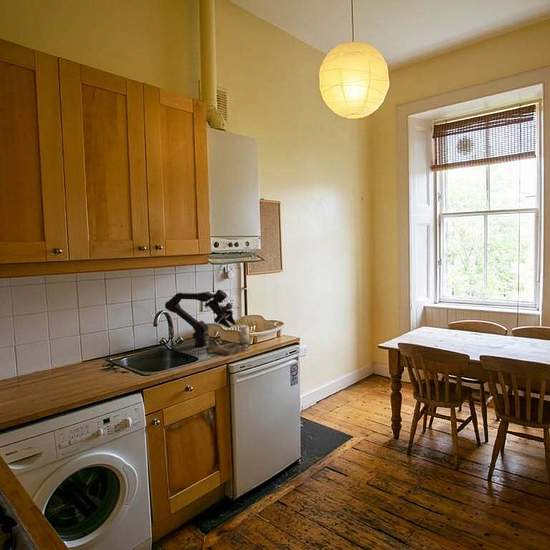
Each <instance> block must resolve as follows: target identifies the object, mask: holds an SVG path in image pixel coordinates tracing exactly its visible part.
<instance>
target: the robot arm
mask: <svg viewBox="0 0 550 550" xmlns="http://www.w3.org/2000/svg"><path fill="white" fill-rule="evenodd" d="M227 298H228V295H227V293H226V292H224V291H223V290H221V289H218V290H217V291H216V292H215V293H211V292H210V291H205V292H204V291H203V292H197V293H196V292H195V293H194V292H190V293H189V292H177V293H176V294H175V295H173V297H171V298H170V299H169V300H168V301H166V302H165V304H164V308H165V309H166V310H167V311H170V313H174V314H176V315H178V316H179V318H181V319H182V320H183V321H185V322H186V323H187V324H189V326H191V327H192V329H193V331H194V332H193V334H192V337H193V338H194V345H193V347H194V348H203V347H205V345H206V346H208V344H207V339H206V336H207V333H208V331H209V326H208V324H207V323H205V322H204V320H200V321H199V320H197V319H196V318H194V317H193V316H192V315H191V314H190V313H188V312H187V311H186V310H184V309H183V308H182V307H181V304H180V302H181V301H182V300H196V301H199V302H203V303H204V308H208V307H209V308H210V310H211V311H212V313H213V314H214V315H216V317H214V320H213V322H214V323H215V324H217V325H221V326H224V327H226V328H228V329H230V328H231V325H230V324H232V325H233V326H236V324H237V323H236V321H235V319H234V317H233V315H234V311H233V310H232V309H234V308H233V304H232V303H230V302H228V303H226V305H225V306H224V305H221V304H222V303H223V301H224V300H225V299H227ZM205 302H206V303H205Z"/></svg>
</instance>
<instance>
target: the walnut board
mask: <svg viewBox="0 0 550 550" xmlns="http://www.w3.org/2000/svg"><path fill="white" fill-rule="evenodd" d="M242 351H243V352H246V348H245V346H243V344H242V345H241V344H237V343H234V342H230V343H225V344H222V345H218V346H214V353H216V352H217V354H220V353H221V355H224V354H227V355H226V356H228V355H229V356H232V355H231V354H233V355H235V354H234V353H236V354H239V353H238V352H240V353H243V352H242Z"/></svg>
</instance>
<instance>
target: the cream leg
mask: <svg viewBox="0 0 550 550" xmlns="http://www.w3.org/2000/svg"><path fill="white" fill-rule="evenodd" d="M239 328H240V329H239V330H240V345H241V344H242V345H243V346H245V349H247V348H249V345H248V344H250V327H249V325H241V326H240V327H239Z"/></svg>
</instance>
